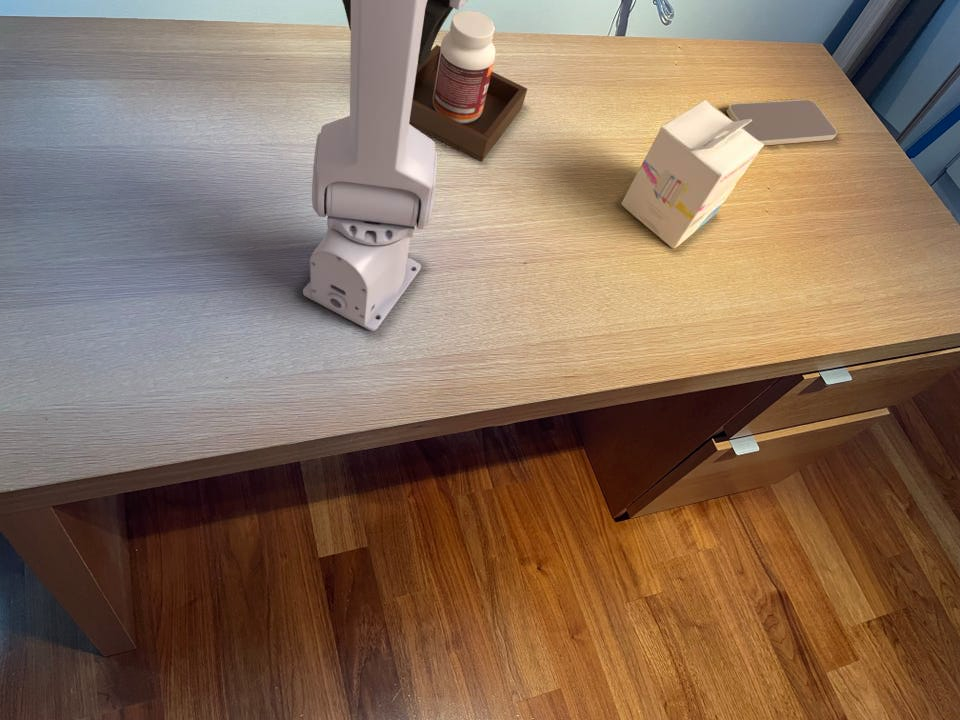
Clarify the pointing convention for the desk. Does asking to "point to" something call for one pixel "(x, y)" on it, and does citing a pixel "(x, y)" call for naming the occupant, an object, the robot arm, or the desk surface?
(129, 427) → the desk surface
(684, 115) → the ink box
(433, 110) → the tray
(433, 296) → the desk surface
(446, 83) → the pill bottle
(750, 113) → the smartphone
